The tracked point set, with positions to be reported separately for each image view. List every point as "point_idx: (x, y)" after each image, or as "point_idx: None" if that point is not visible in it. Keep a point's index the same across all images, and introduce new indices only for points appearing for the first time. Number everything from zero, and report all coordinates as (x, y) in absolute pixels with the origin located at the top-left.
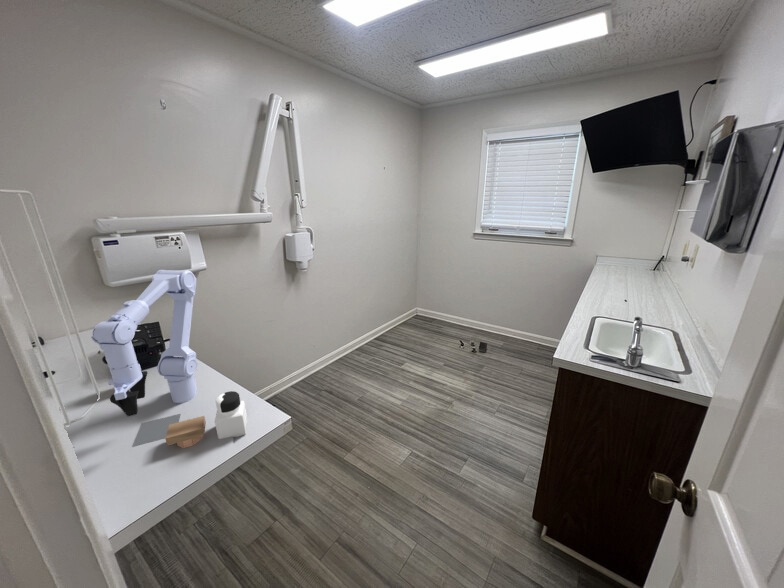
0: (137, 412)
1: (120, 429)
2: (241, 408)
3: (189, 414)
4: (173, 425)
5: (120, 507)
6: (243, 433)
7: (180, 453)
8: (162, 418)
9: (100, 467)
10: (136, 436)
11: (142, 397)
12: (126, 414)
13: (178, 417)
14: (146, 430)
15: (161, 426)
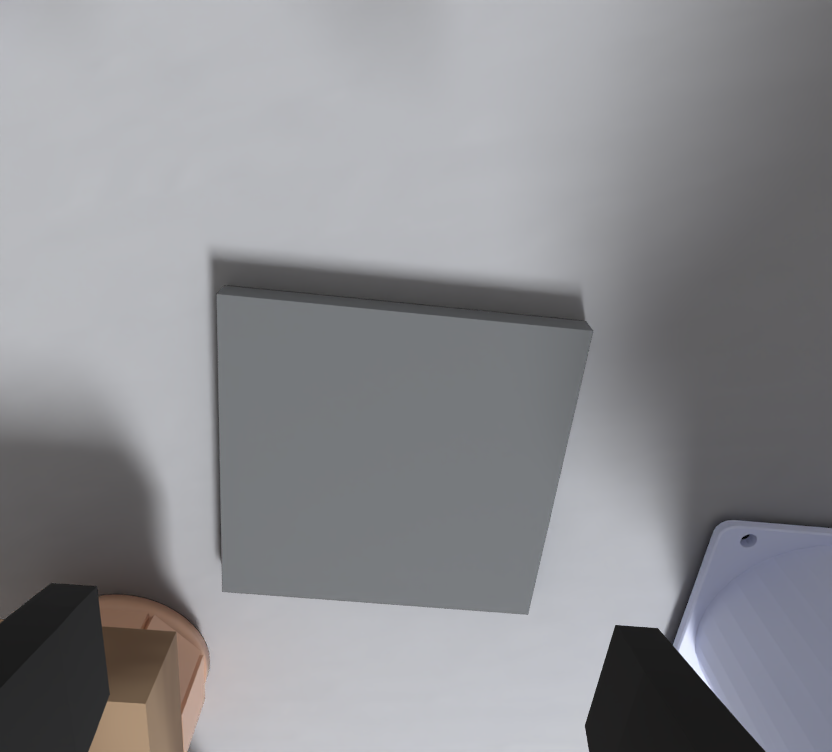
0: (106, 700)
1: (656, 116)
2: None
3: (501, 643)
4: (111, 733)
5: None
6: None
7: (19, 605)
8: (546, 494)
9: (60, 30)
10: (373, 312)
11: (592, 719)
12: (4, 623)
13: (475, 602)
14: (426, 386)
15: (417, 494)
